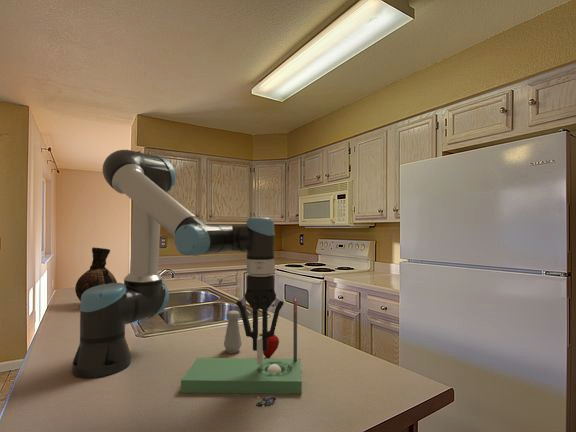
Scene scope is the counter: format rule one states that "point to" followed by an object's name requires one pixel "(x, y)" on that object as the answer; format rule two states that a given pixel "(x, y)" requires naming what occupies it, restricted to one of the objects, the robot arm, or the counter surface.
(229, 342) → the salt shaker
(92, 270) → the ceramic vessel
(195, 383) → the board
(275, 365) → the white ball
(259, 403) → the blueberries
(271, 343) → the strawberry
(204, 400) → the counter surface
